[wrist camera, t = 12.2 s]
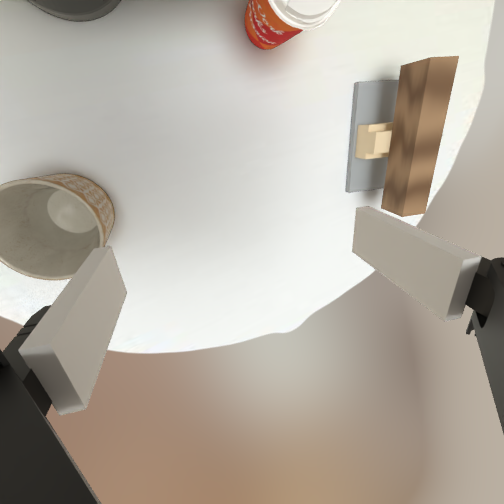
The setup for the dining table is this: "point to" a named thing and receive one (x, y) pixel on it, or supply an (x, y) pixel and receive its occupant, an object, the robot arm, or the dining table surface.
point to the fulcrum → (370, 134)
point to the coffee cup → (284, 19)
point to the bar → (417, 133)
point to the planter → (52, 224)
